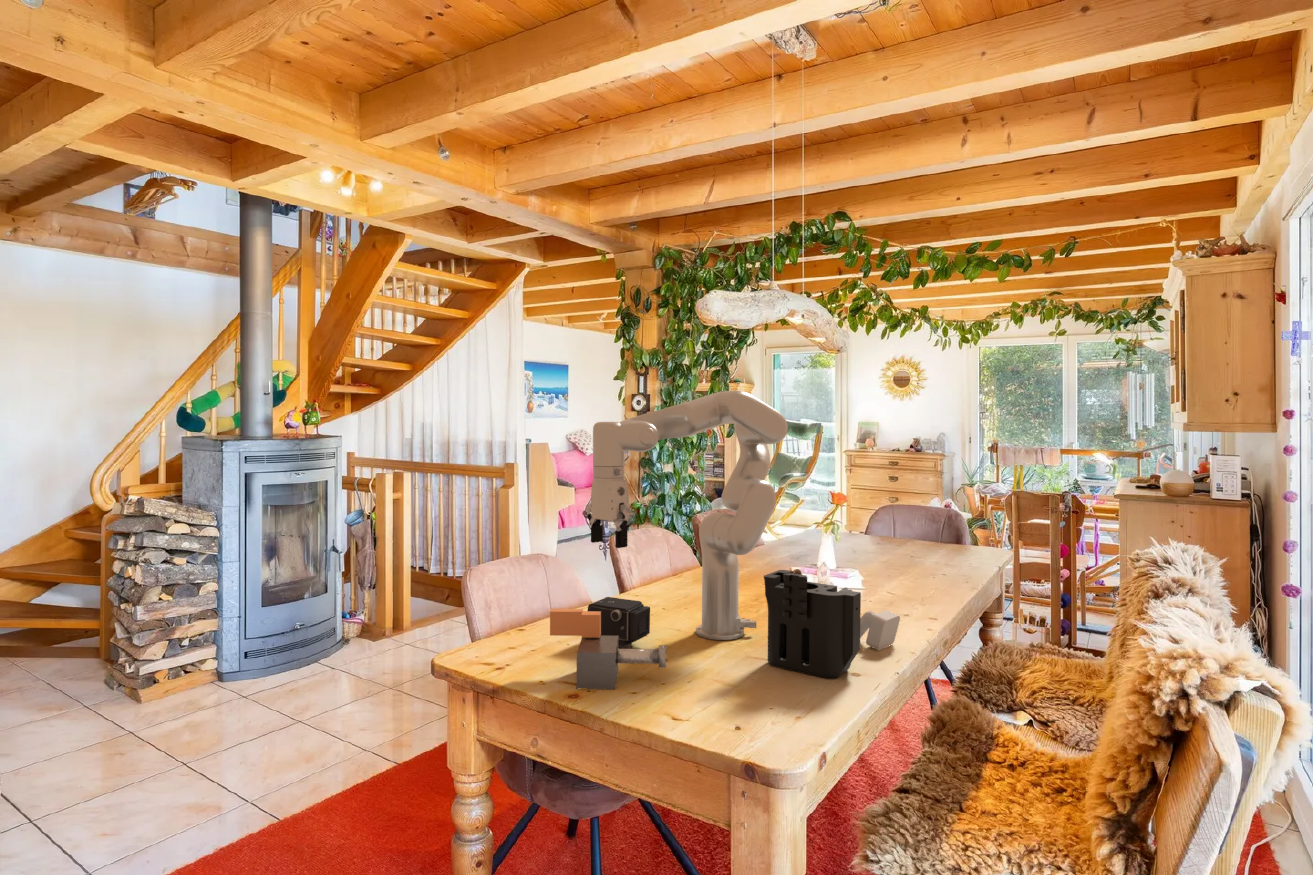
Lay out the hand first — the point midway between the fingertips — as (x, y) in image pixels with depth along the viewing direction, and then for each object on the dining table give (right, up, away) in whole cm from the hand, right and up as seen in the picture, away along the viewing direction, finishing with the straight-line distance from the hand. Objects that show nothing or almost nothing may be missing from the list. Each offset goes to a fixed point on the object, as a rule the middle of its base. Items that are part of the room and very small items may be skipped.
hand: (608, 544), depth 176 cm
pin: (+6, -24, -18) cm, 30 cm away
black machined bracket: (+46, -27, -11) cm, 54 cm away
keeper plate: (-7, -18, -13) cm, 23 cm away
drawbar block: (-1, -26, -18) cm, 32 cm away
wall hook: (+65, -26, +8) cm, 71 cm away
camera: (+2, -26, +6) cm, 27 cm away
